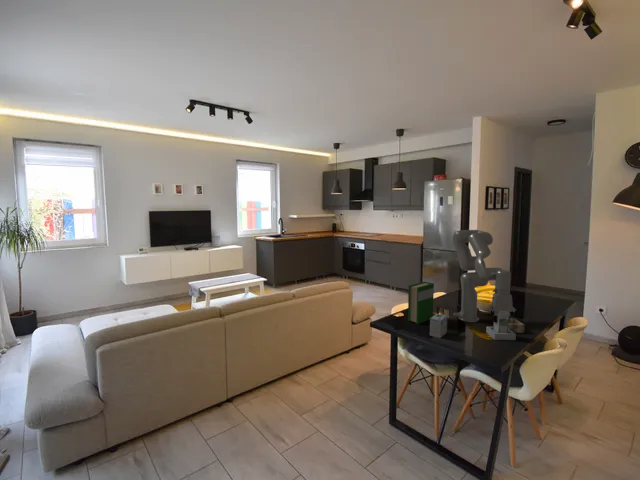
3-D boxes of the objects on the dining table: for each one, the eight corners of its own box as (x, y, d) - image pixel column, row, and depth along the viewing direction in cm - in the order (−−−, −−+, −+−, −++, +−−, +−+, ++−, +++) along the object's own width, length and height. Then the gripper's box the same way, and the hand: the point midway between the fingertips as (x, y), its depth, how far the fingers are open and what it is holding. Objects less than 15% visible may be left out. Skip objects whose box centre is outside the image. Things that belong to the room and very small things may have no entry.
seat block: (494, 339, 188) (494, 333, 188) (486, 332, 200) (486, 326, 199) (515, 340, 187) (515, 334, 187) (506, 332, 199) (506, 326, 198)
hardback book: (417, 324, 214) (418, 287, 212) (407, 321, 220) (408, 285, 217) (432, 318, 225) (433, 283, 223) (423, 315, 231) (424, 281, 228)
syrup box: (502, 330, 197) (503, 307, 195) (508, 334, 191) (509, 310, 189) (492, 331, 196) (493, 307, 195) (498, 335, 191) (499, 310, 189)
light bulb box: (435, 330, 203) (436, 313, 202) (447, 332, 199) (447, 315, 198) (429, 335, 195) (429, 317, 194) (440, 338, 191) (441, 320, 190)
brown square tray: (504, 332, 199) (504, 324, 199) (495, 325, 210) (496, 317, 210) (524, 332, 198) (524, 324, 198) (514, 326, 210) (515, 318, 209)
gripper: (489, 293, 188) (488, 324, 190) (521, 293, 187) (519, 324, 189) (484, 289, 196) (482, 319, 197) (514, 290, 194) (513, 320, 196)
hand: (500, 321), depth 193 cm, fingers closed on syrup box, 6 cm apart
